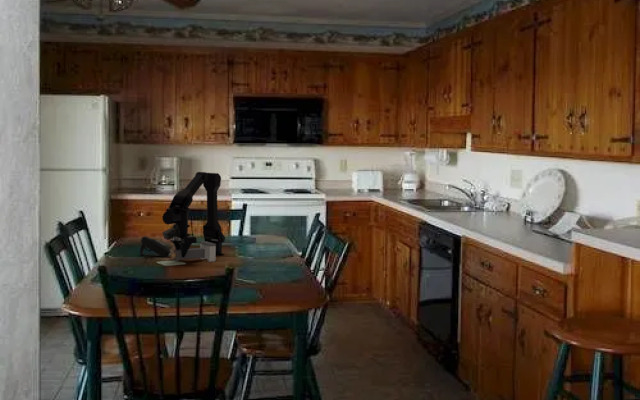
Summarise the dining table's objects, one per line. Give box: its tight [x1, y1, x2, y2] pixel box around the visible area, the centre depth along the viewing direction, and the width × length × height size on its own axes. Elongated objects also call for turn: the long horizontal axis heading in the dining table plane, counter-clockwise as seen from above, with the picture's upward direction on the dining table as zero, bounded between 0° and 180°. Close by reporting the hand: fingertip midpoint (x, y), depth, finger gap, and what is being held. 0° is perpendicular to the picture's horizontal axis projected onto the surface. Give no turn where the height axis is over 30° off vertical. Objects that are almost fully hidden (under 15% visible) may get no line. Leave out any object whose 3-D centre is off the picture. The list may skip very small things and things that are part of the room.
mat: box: [155, 259, 187, 267], centre depth 315 cm, size 10×9×1 cm
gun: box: [139, 236, 172, 259], centre depth 331 cm, size 3×16×10 cm, turn 79°
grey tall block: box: [171, 247, 205, 261], centre depth 319 cm, size 15×4×4 cm, turn 130°
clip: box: [199, 240, 217, 263], centre depth 326 cm, size 3×9×8 cm, turn 39°
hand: (180, 256), depth 317 cm, fingers closed on grey tall block, 4 cm apart
